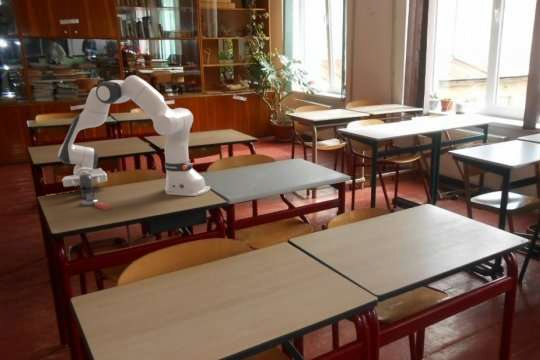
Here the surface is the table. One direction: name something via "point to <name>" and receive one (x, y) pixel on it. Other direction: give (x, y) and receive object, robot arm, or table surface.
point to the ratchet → (95, 202)
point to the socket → (86, 185)
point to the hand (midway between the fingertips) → (86, 183)
